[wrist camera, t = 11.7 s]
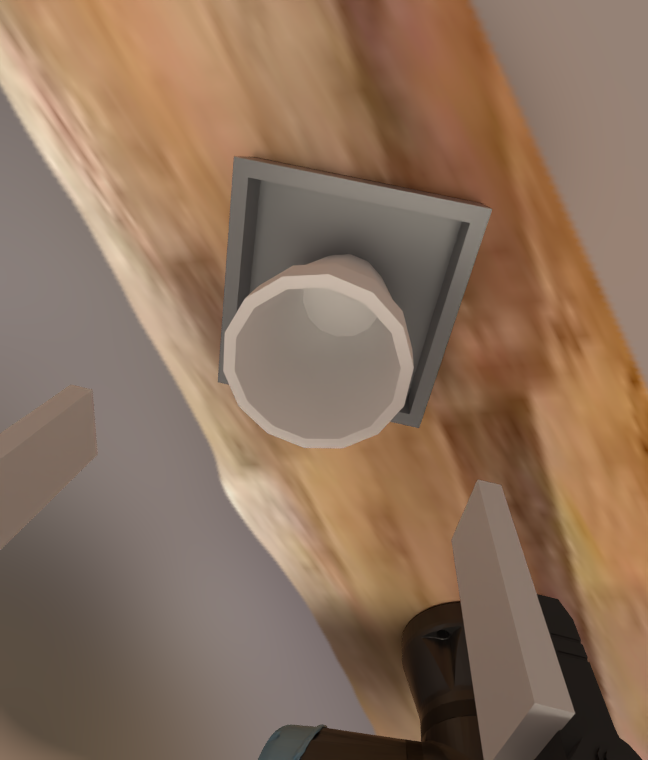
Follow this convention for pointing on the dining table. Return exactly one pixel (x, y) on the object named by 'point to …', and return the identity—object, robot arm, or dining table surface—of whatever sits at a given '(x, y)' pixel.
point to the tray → (356, 249)
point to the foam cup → (320, 354)
